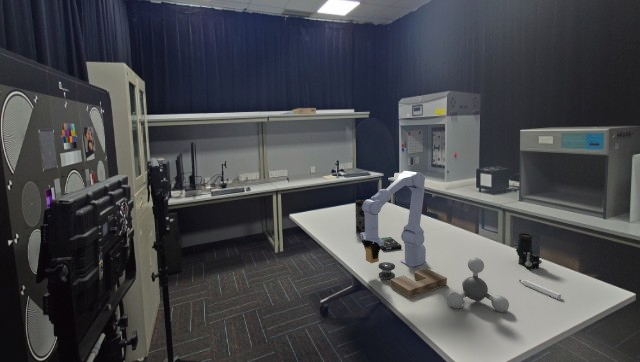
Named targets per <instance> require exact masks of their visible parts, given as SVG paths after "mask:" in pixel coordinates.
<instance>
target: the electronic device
mask: <svg viewBox="0 0 640 362" xmlns="http://www.w3.org/2000/svg"><path fill="white" fill-rule="evenodd" d="M365 200H366V199H356V200H355V232H356V233H357V234H361V233H362V232H365V215H364V211H363V210H362V206H363V203H364V201H365Z"/></svg>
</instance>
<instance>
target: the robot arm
mask: <svg viewBox="0 0 640 362" xmlns="http://www.w3.org/2000/svg"><path fill="white" fill-rule="evenodd" d="M425 181H426V177H425V175H424V174H423V173H422V172H420V171H419V172H417V171H416V172H415V171H411V170H410V171H409V170H403V171H402V172H401V173H399V174H398V177H397V178H396V179H395V180H394V181H393V182H392V183H391V184H390V185H389V186H388V187H386V188H382V189H381V188H380V189H379V190H378V192H377V193H375V194H374V195H372V196H371V197H370V198H369V199H368V198H367V199H364V200H365V201H364V203H363V206H362V210H363V211H364V215H365V232H362V233H360V238H363V239H361V243H362V245H363V248H364V251H365V252H366V247H371V250H372V257H373V259H377V258H378V254H379V253H380V251H381V250H382V249H381V247H382V246H383V245H384V241H383V240H382V239H381V238H382V237H380V236H379V214H380V212H381V211H382V208H383V207H384V206H385V204H387V203H388V202H389V201H390V200H391V199H392V195H393V194H394V193H396V192H397V191H399V190H400V189H402V188H403V187H408V189H409V190H410V191H411V197H410V206H409V212H408V213H409V214H408V219H407V224H405V225H404V226H403V229H402V232H401V235H400V236H401V240H402V241H403V244H404V259H401V260H400V262H401V263H403V264H405V265H407V266H409V267H411V268H413V267H417V266H420V265H424V264H427V263H428V261H426V259H427V258H426V252H427V251H426V250H427V249H426V246H425V245H424V242H425V230H424V229H423V228H422V227H421V219H422V212H423V204H424V203H423V202H424V197H425V196H424V195H425V188H426V187H425Z"/></svg>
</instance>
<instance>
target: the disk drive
mask: <svg viewBox="0 0 640 362" xmlns="http://www.w3.org/2000/svg"><path fill="white" fill-rule="evenodd" d="M380 238H381V239H382V240H383V241H384V245H383V246H382V247H381V249H380V250H382V252H389V251H398V250H402V246H403V245H402V244H401V243H399V242H398V241H396V240H395V239H394V238H393V237H391V236H388V237H387V236H386V237H380Z"/></svg>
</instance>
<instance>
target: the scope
mask: <svg viewBox="0 0 640 362" xmlns="http://www.w3.org/2000/svg"><path fill="white" fill-rule="evenodd" d="M517 237H518V241H517V248H516V249H515V251H516V254H517V256H518V264H519V265H520V266H523V267H525V268H526V269H528V270H529V271H533V270H534V269H539V268H540V264H543V261H542V259H540V256H539V255H535V254H533V253H534V252H533V241H532V239H533V237H534V236H533V235H532V234H530V233H526V232H525V233H524V232H522V233H518V236H517Z"/></svg>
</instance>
